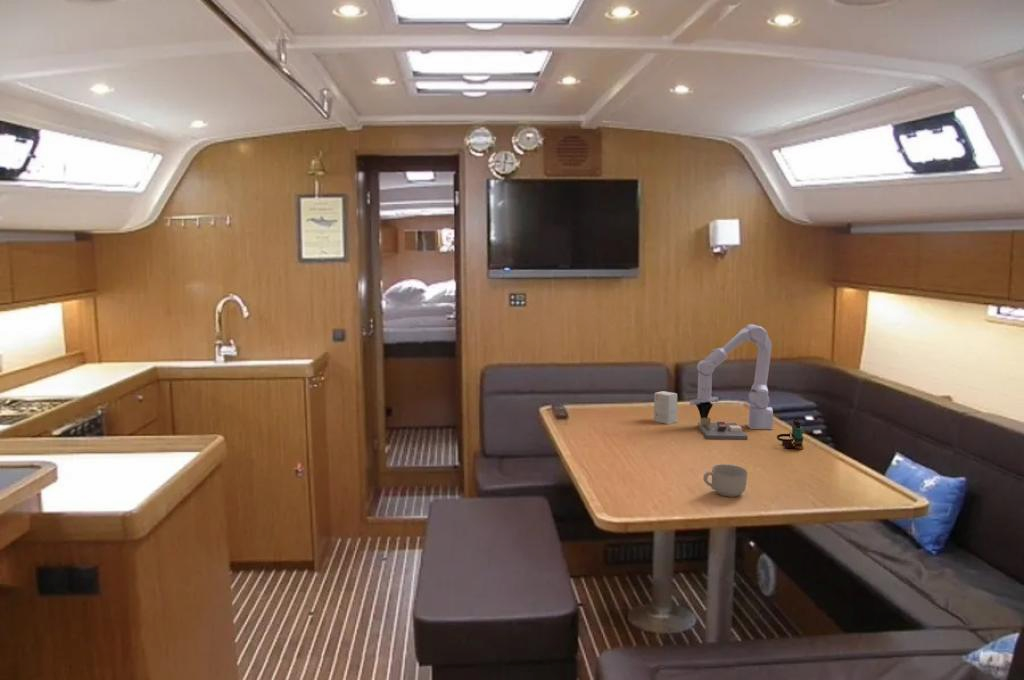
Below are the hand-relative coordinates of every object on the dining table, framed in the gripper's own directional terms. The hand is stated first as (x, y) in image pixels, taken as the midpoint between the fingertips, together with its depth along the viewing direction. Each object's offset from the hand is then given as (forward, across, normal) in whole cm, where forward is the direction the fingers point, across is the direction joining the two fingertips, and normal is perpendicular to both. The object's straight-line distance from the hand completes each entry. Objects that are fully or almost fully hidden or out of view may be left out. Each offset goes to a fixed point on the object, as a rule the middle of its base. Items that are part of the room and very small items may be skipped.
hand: (703, 419), depth 318 cm
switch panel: (+3, 0, -10) cm, 11 cm away
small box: (+4, -7, +17) cm, 18 cm away
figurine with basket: (+4, +6, -40) cm, 41 cm away
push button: (+2, +3, -15) cm, 15 cm away
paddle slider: (+1, -2, -3) cm, 3 cm away
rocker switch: (0, -1, -12) cm, 12 cm away
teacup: (+4, -56, -66) cm, 87 cm away
